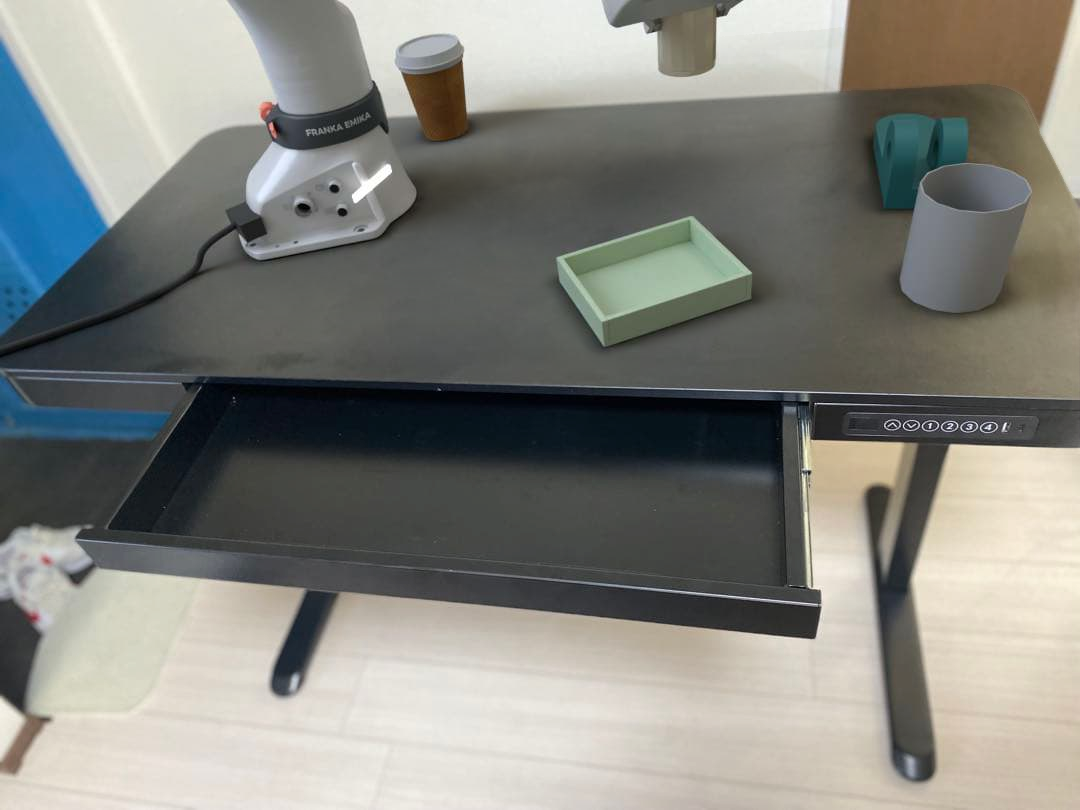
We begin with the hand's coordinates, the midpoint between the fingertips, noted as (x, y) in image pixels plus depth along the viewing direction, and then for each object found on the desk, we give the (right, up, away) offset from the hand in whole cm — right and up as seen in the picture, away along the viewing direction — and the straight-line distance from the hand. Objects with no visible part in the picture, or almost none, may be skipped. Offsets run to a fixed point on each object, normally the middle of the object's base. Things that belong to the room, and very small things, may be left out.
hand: (683, 19), depth 87 cm
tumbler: (+1, -4, +3) cm, 5 cm away
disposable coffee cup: (-29, -3, +27) cm, 40 cm away
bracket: (+26, -16, +2) cm, 30 cm away
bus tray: (-5, -31, -8) cm, 32 cm away
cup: (+22, -32, -14) cm, 41 cm away
